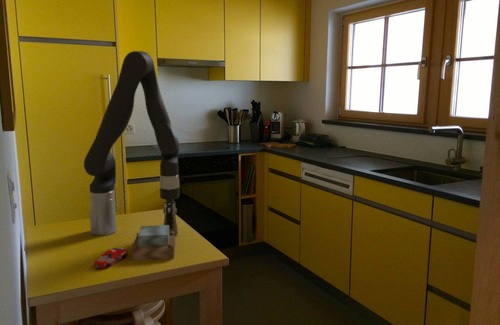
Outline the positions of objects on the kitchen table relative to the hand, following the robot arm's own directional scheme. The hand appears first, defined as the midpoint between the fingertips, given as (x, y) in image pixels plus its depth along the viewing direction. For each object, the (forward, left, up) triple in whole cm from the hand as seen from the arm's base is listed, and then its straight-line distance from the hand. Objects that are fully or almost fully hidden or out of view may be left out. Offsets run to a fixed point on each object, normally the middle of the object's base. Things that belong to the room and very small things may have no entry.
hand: (170, 227), depth 166 cm
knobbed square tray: (-5, -16, -3) cm, 17 cm away
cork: (0, 0, -3) cm, 3 cm away
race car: (-19, -23, -4) cm, 30 cm away
